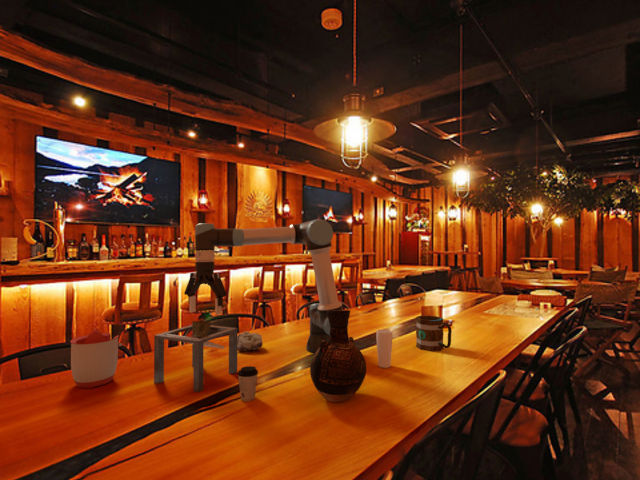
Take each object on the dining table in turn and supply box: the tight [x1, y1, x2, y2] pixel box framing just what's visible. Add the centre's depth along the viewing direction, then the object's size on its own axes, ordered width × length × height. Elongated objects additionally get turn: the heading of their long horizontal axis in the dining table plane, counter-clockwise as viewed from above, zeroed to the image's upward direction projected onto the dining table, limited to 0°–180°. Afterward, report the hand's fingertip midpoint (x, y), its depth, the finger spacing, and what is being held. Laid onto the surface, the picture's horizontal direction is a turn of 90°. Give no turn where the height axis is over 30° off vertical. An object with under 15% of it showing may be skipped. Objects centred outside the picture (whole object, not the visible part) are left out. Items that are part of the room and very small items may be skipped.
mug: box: [415, 315, 453, 352], centre depth 175 cm, size 20×14×15 cm
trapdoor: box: [167, 334, 225, 350], centre depth 137 cm, size 17×16×1 cm
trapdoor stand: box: [153, 324, 238, 393], centre depth 138 cm, size 22×22×18 cm
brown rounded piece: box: [191, 320, 212, 339], centre depth 144 cm, size 8×7×8 cm
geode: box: [237, 331, 263, 352], centre depth 176 cm, size 17×9×15 cm
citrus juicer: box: [70, 329, 123, 389], centre depth 134 cm, size 16×17×20 cm
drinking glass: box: [375, 329, 393, 369], centre depth 150 cm, size 7×7×15 cm
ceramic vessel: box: [309, 309, 367, 403], centre depth 119 cm, size 21×18×30 cm
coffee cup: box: [237, 365, 259, 402], centre depth 119 cm, size 7×7×10 cm
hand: (205, 313), depth 142 cm, fingers open, 13 cm apart
